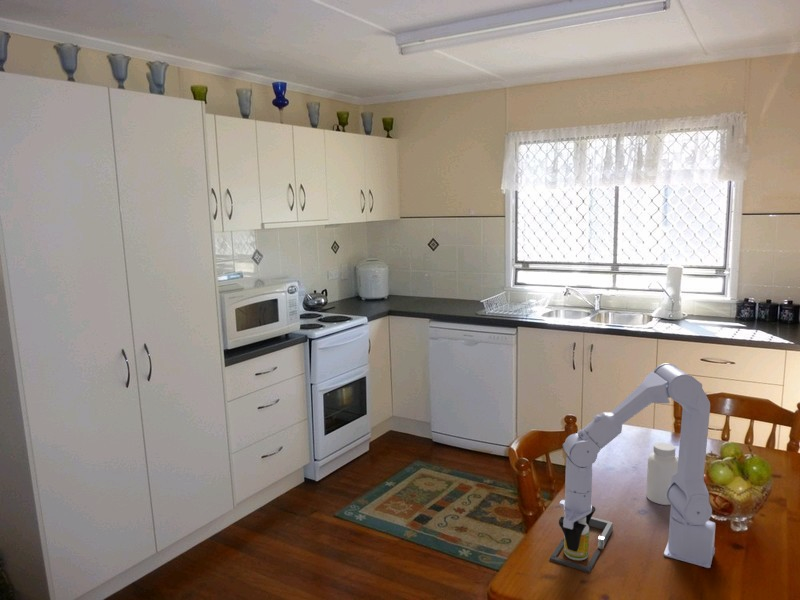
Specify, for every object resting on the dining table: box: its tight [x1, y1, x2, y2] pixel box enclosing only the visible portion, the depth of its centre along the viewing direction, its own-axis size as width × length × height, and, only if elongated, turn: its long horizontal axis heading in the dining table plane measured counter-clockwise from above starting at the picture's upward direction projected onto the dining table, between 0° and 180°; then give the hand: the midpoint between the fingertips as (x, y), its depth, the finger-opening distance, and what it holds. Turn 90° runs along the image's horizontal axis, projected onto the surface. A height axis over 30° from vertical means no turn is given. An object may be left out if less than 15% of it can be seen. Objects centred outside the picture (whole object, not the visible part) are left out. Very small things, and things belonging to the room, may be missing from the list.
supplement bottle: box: [563, 516, 590, 561], centre depth 138 cm, size 5×5×10 cm
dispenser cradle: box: [589, 516, 614, 550], centre depth 146 cm, size 9×10×2 cm
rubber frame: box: [549, 539, 601, 574], centre depth 137 cm, size 9×8×1 cm
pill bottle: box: [645, 442, 678, 506], centre depth 161 cm, size 8×8×15 cm
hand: (576, 543), depth 138 cm, fingers open, 5 cm apart
